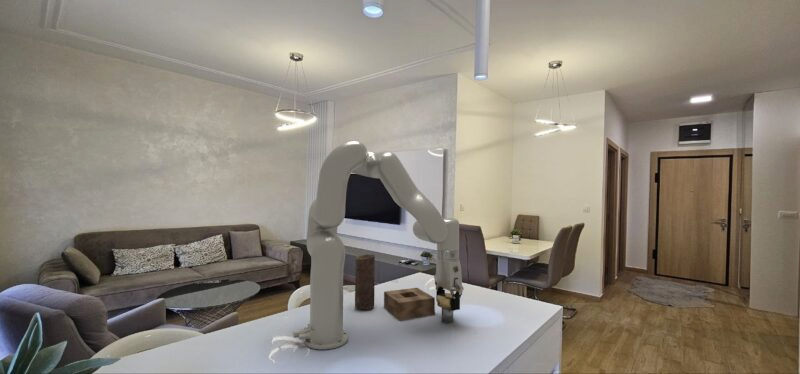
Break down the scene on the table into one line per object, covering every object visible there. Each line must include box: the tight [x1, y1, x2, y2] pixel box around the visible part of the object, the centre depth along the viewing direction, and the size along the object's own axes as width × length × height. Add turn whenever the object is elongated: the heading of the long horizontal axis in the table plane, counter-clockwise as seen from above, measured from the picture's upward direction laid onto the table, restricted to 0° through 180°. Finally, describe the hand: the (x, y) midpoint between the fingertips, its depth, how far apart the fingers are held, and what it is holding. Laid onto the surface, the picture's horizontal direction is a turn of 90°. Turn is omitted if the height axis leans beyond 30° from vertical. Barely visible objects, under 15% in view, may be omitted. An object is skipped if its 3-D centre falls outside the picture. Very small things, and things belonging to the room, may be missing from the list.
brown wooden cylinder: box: [354, 253, 376, 310], centre depth 130 cm, size 8×7×20 cm
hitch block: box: [383, 287, 436, 321], centre depth 128 cm, size 14×14×6 cm
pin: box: [436, 292, 454, 324], centre depth 118 cm, size 7×7×8 cm
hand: (447, 305), depth 118 cm, fingers open, 8 cm apart
